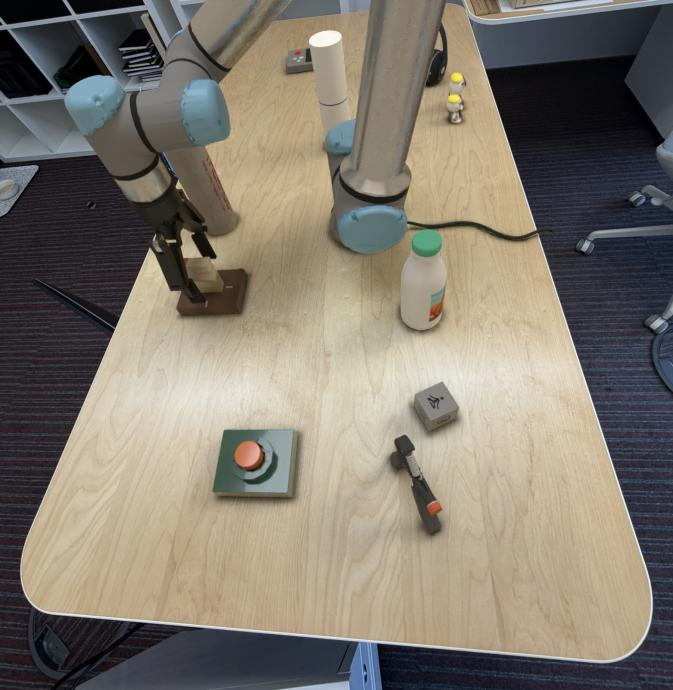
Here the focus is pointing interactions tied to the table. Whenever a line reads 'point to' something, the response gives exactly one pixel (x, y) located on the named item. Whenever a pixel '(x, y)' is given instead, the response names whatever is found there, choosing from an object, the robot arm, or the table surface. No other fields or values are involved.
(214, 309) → the panel
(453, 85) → the toy figures
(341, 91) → the cylindrical container
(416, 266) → the milk bottle
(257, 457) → the orange button cap
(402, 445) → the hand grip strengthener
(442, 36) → the headphones
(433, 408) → the dice cube
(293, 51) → the electronic device
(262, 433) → the button housing
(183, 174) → the thermos bottle
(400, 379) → the table surface
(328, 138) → the robot arm
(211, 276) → the knob
